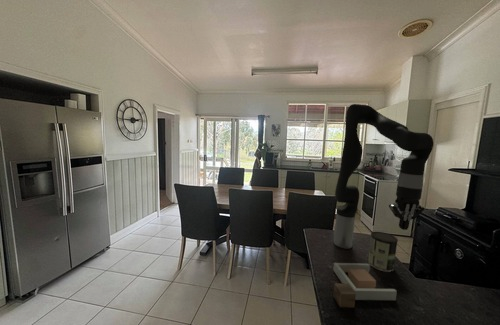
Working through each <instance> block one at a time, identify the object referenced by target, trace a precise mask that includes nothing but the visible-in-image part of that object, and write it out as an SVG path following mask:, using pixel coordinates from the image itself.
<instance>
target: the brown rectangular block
mask: <svg viewBox="0 0 500 325" xmlns="http://www.w3.org/2000/svg"><path fill="white" fill-rule="evenodd" d="M347 277H348V278H349V279H350V281H351V282H352V283H353V284H354V286H355V287H356V288H367V289H376V287H377V286H376V285H377V280H376V279H375V277H373V276H372V274H370V272H369V273H368V272H367V271H366V270H365V269H349V270H348V272H347Z"/></svg>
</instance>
